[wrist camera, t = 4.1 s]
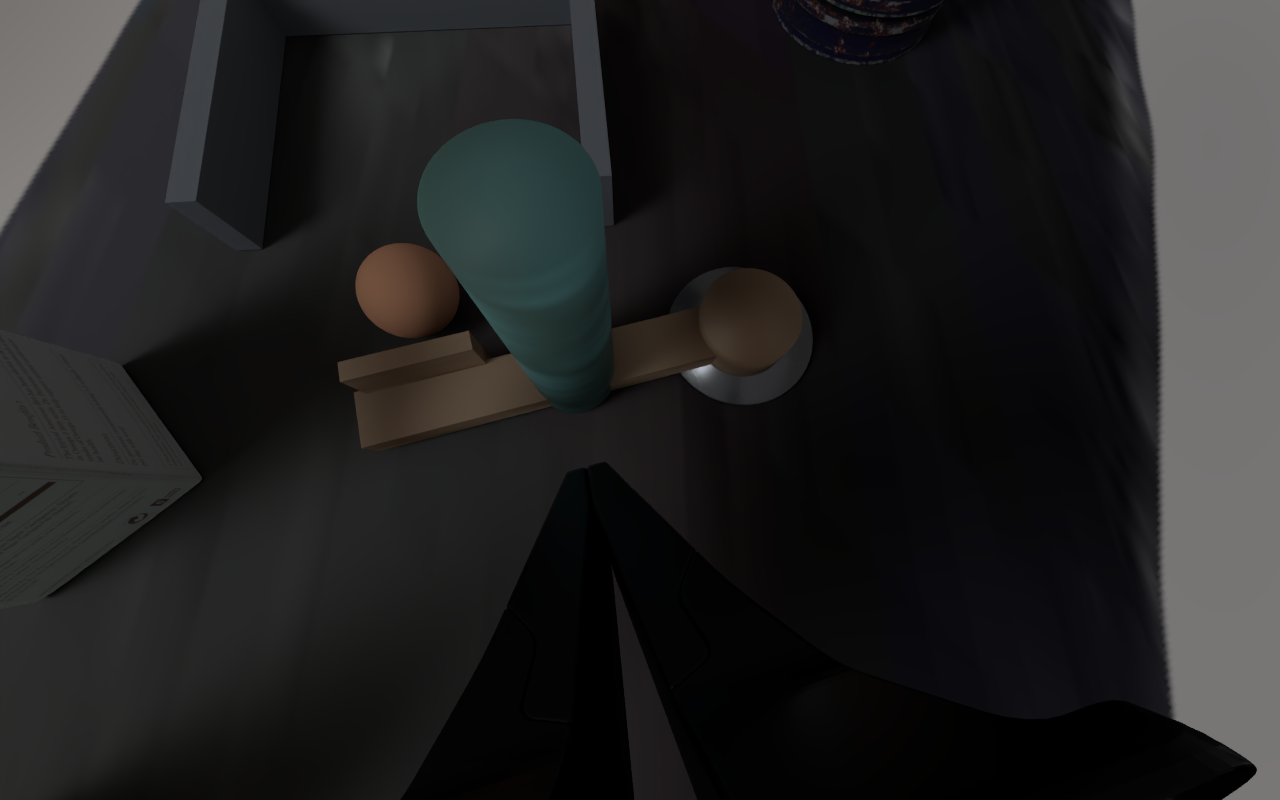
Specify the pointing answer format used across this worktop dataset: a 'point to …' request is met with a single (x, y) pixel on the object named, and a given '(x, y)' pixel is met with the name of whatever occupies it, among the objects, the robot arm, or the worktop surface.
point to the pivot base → (748, 387)
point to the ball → (407, 290)
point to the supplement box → (74, 464)
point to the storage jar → (857, 27)
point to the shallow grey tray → (251, 78)
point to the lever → (545, 298)
